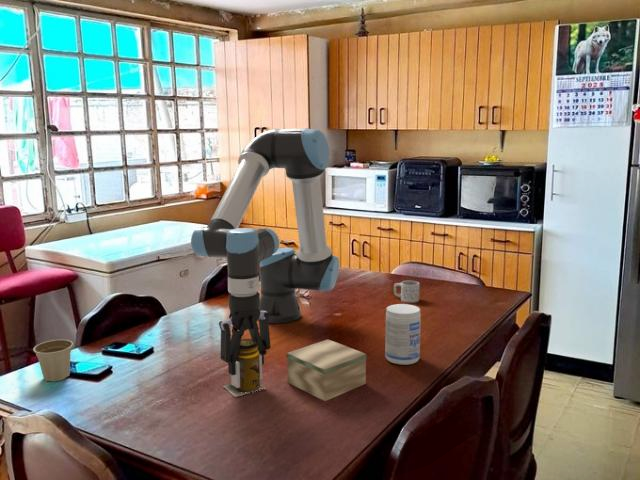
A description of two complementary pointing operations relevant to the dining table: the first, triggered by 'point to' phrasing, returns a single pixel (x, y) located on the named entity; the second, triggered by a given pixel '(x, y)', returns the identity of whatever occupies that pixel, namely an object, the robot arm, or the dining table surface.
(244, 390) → the condiment
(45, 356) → the flower pot
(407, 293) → the mug
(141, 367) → the dining table surface
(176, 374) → the dining table surface
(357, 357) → the wooden box
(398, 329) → the supplement tub
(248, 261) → the robot arm
